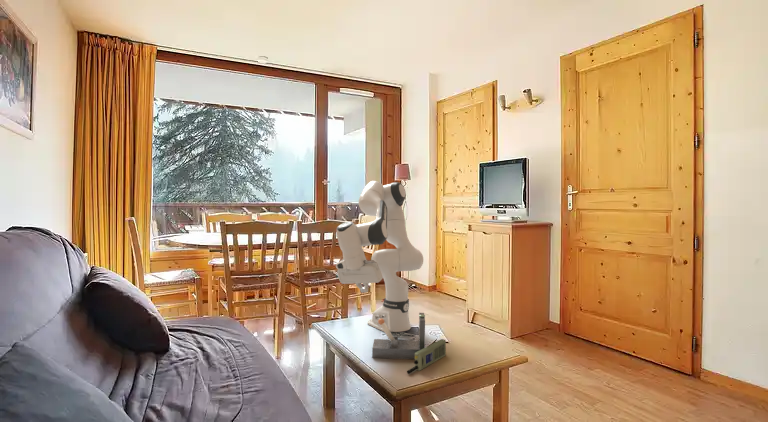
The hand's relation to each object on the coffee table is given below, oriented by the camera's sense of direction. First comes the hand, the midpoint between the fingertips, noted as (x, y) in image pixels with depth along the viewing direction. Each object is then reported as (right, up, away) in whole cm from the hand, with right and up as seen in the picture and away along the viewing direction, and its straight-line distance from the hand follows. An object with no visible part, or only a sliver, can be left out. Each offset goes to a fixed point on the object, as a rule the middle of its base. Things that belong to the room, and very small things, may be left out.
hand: (364, 291), depth 168 cm
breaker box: (+14, -26, 0) cm, 29 cm away
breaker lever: (+13, -22, 0) cm, 25 cm away
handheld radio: (+25, -27, -10) cm, 38 cm away
